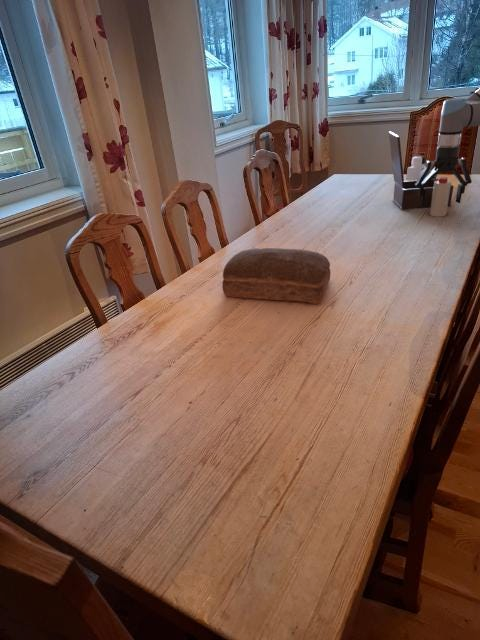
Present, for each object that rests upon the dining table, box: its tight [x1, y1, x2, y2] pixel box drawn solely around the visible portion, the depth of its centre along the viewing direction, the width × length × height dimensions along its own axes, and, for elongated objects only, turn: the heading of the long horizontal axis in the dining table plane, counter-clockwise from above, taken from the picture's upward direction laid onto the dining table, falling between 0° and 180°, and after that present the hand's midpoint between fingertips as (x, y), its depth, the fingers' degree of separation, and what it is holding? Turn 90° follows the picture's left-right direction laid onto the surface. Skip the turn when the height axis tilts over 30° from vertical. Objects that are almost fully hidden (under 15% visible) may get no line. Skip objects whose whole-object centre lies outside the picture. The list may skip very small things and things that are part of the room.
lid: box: [388, 131, 405, 189], centre depth 175 cm, size 20×14×1 cm
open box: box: [392, 178, 454, 211], centre depth 181 cm, size 20×14×8 cm
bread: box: [222, 247, 331, 304], centre depth 123 cm, size 17×29×11 cm, turn 70°
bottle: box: [429, 176, 452, 217], centre depth 166 cm, size 6×6×14 cm
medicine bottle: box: [405, 155, 426, 181], centre depth 212 cm, size 7×7×12 cm
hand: (439, 203), depth 168 cm, fingers open, 13 cm apart
